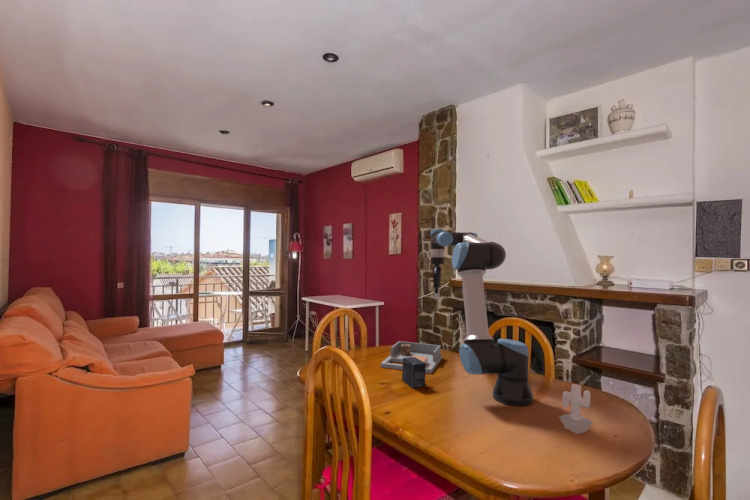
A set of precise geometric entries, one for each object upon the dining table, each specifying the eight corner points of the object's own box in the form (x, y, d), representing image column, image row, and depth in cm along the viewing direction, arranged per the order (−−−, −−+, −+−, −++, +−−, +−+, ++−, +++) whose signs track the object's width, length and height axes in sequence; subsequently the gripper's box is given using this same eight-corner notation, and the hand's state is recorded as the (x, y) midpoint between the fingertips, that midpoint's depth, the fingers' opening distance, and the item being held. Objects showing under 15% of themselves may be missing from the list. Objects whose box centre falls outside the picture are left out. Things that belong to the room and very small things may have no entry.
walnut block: (410, 353, 207) (410, 344, 207) (410, 355, 202) (410, 346, 202) (401, 352, 207) (401, 343, 207) (400, 355, 202) (400, 346, 202)
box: (425, 386, 161) (426, 362, 161) (412, 388, 159) (412, 364, 159) (414, 378, 171) (414, 356, 171) (401, 380, 169) (401, 357, 169)
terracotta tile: (427, 362, 189) (427, 357, 189) (423, 367, 181) (424, 361, 181) (412, 361, 192) (412, 355, 192) (408, 365, 184) (408, 359, 184)
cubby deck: (442, 358, 204) (442, 345, 204) (431, 373, 178) (431, 359, 178) (397, 353, 214) (397, 341, 214) (380, 367, 188) (380, 353, 188)
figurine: (570, 421, 129) (571, 378, 129) (596, 434, 120) (596, 388, 120) (555, 425, 126) (556, 381, 126) (580, 438, 117) (581, 391, 118)
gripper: (432, 256, 214) (432, 297, 214) (428, 256, 202) (427, 300, 202) (445, 256, 212) (445, 297, 212) (441, 257, 200) (441, 300, 200)
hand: (436, 298), depth 207 cm, fingers closed
